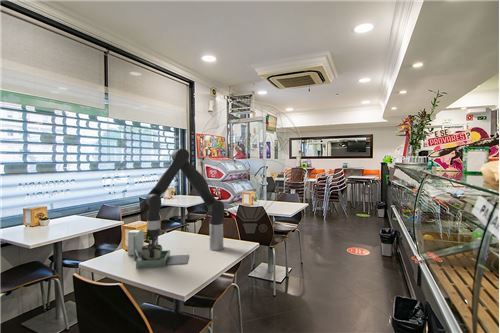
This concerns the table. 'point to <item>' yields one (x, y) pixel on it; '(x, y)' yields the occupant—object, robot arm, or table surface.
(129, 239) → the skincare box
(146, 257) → the food container
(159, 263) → the case
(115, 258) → the table surface
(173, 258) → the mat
